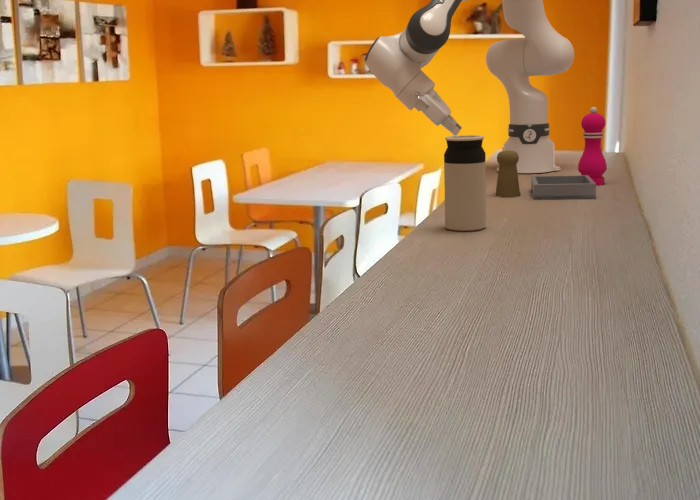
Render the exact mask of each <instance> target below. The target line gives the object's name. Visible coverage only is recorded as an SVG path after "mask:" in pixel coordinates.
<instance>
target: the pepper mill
mask: <svg viewBox="0 0 700 500" xmlns="http://www.w3.org/2000/svg"><path fill="white" fill-rule="evenodd" d="M589 112H590V113H587V114H585V115H584V116H583V117H582V119H581V122H580V125H581V128H582V130H584V132H582V134H583V136H582V138H583V139H584V148H583V153H582V155H581V157H580V159H579V161H578V164H577V170H578V172H579V173H580V175H588V176H589V177H590V178H591V179H592V180H593V181H594V182H595V183H596V187H597V186H603V185H604V184H605V177H604V176H603V175H604V174H605V172H606V171H607V169H608V168H607V161H606V157H604V154H603V151H602V139H603V138H604V135H603V134H604V132H603V130H604V129H605V127H606V119H605V117H604V116H603V115H602V114H601V113H598V108H597V107H596V106H592V107H590V109H589Z"/></svg>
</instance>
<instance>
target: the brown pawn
mask: <svg viewBox="0 0 700 500" xmlns="http://www.w3.org/2000/svg"><path fill="white" fill-rule="evenodd" d="M518 160H519V156H518V153H517V152H515V151H511V150H506V151H499V152H498V153H497V157H496V161H497V163H498V165H499V166H498V167H499V171H497V172H498V173H497V179H496V187H495V195H496V196H495V197H497V196H500V197H499V198H517V197H516V196H518V197H520V196H521V189H520V183H519V181H520V180H519V175H518V174H519V173H517V166H516V164H517V162H518Z"/></svg>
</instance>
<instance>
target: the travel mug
mask: <svg viewBox="0 0 700 500" xmlns="http://www.w3.org/2000/svg"><path fill="white" fill-rule="evenodd" d="M484 139H485V136H484V135H478V134H461V135H459V134H457V135H456V136H455V135H449V136H445V138H444V140H445V141H446V144H447V145H446V146H447V147H446V149H445V151H444V154H443V164H444V165H443V166H444V167H443V168H444V169H443V170H444V171H443V172H444V173H443V175H444V178H443V179H444V183H443V184H444V227H445V228H446V229H448V230H449V231H454V232H475V231H481V230H483V229H484V228H486V226H487V223H486V222H487V221H486V218H487V217H486V216H487V215H486V208H487V207H486V206H487V205H486V202H487V201H486V199H487V198H486V195H487V193H486V186H487V183H486V175H487V174H486V173H487V171H486V170H487V169H486V165H487V163H486V152H485V149H484V148H483V141H484Z"/></svg>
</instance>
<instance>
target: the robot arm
mask: <svg viewBox="0 0 700 500" xmlns="http://www.w3.org/2000/svg"><path fill="white" fill-rule="evenodd" d="M466 1H468V0H431V1H429V3H427V4H426V5H425V6H422V7H421V8H419V9H418V10H416V11H415V12H414V13H413V14H412V15H411V16H410V18H409V21H408V23H407V25H406V27H405V28H404V30H403V31H401V32H398V33H396V34H393V35H388V36H382V35H381V36H378V37H377V38H376V39H375V40H374V42H373V43H372V44H371V45H370V47H369V49H368V51H367V53H366V54H365V57H364V64H365V65H366V67H367V68H368V70H369V71H370V73H371V74H373V76H374V77H375V78H376V79H377V80H378V81H379V82H380V83H381V84H382V85H383V86H384V87H386V88H388V89H390V90H391V91H392V93H393V94H394V96H395V97H396V99H398V100H399V101H400V102H401V104H403V105H404V106H405V107H406V108H407V109H408V110H409V111H412V110H413V109H416V110H417V112H420V111H421V112H422V113H423V114H424V115H425V116H426V117H427V118H428V119H429V121H431V122H432V123H433V124H434V125H435V126H437V127H439V126H440V125H441V126H443V127H444V128H445V129H446V130H447V131H449V132H450V134H452V136H457V135H459V133H460V132H461V130H462V128H463V127H462V126H461V124H459V122H458V121H456V119H455V118H454V117H453V116H452V115H451V113H452V109H450V108H451V107H449V106H448V104H447V103H446V102H445V100H444V99H442V97H441V96H440V95H439V94H438V92H437V91H436V90H435V85H436V82H434V81H433V80H432V78H430V77H429V76H428V75H427V74H426V73H425V72H424V71H423V70H422V69H423V68H424V67H426V66H427V65H428V64H429V63H431V61H433V58H434V57H435V56H436V55H437V54H438V52H439V50H441V49H442V47H444V45H445V44H447V42H448V40H449V37H450V35H451V27H452V26H451V25H452V18H453V16H454V15H455V13H456V11H457V9H458V8H459V6H460V5H461V3H462V2H466ZM501 4H502V11H503V18H504V21H505V23H506V24H507V25H508V27H509V28H511V29H513V30H515V31H517V32H519V33H520V34H522V36H524V37H519V38H517V37H516V38H506V39H502V40H499V41H494V42H493V43H491V44H490V46H489V47H488V50H487V52H486V55H485V63H486V66H487V69H488V70H489V72H490V73H491V74H492V75H493V76H494V77H496V78H497V79H498V80H499V82H501V84H502V85H503V86H504V89H505V91H506V93H507V97H508V105H509V124H508V128H507V132H508V134H507V135H508V139H507V140H506V141H505V142H504V143H503V147H502V151H506V150H511V151H515V152H517V153H518V156H519V160H518V162H517V164H516V166H517V173H518V174H538V173H539V174H540V173H542V174H543V173H549V172H555V171H557V172H559V171H561V170H562V169H561V166H559V165H557V164H555V162H556V161H555V158H556V157H555V156H556V155H555V142H553V140H552V139H551V138H550V137H549V135H550V130H551V128H550V123H549V99H548V97H547V94H546V93H545V92H543V91H542V90H540V89H539V88H536V87H535V86H532V84H531V81H530V78H529V77H535V76H536V77H537V76H540V77H541V76H553V75H559V74H561V73H566V72H568V71H569V69H570V68H571V67H572V66H573V63H574V60H575V49H574V46H573V44H572V42H571V41H570V40H569V39H568V38H567V37H565V36H563V35H562V34H560V33H559V32H558V31H557V30H556V29H555V28H554V27H553V26H552V24H551V23H550V21H549V19H548V17H547V15H546V10H545V7H544V0H501ZM498 171H499V166H498V167H496V172H498Z"/></svg>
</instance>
